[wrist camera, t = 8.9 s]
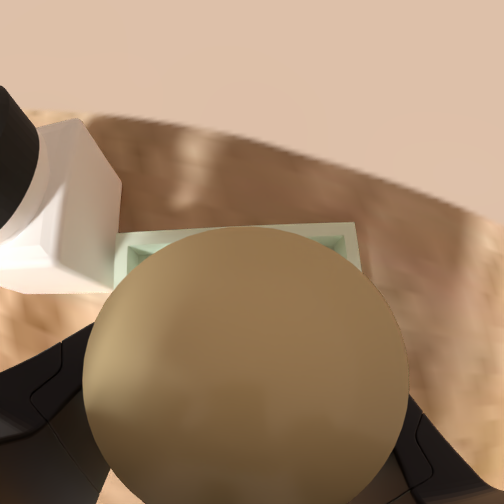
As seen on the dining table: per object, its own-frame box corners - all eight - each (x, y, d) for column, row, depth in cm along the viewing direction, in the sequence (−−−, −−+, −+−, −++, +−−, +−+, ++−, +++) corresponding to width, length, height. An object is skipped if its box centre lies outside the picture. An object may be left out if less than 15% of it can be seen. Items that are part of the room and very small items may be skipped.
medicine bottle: (124, 181, 19) (39, 40, 8) (118, 293, 18) (-28, 222, 6) (35, 193, 19) (-70, 95, 7) (24, 294, 17) (-120, 243, 6)
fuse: (308, 374, 14) (449, 431, 4) (221, 420, 14) (188, 567, 3) (261, 290, 15) (310, 176, 5) (174, 335, 15) (38, 315, 4)
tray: (356, 443, 16) (371, 456, 13) (140, 456, 15) (127, 471, 13) (340, 236, 19) (354, 221, 16) (130, 246, 18) (116, 233, 16)
